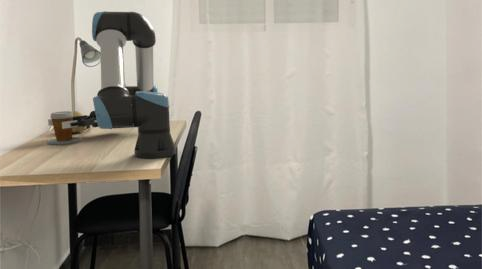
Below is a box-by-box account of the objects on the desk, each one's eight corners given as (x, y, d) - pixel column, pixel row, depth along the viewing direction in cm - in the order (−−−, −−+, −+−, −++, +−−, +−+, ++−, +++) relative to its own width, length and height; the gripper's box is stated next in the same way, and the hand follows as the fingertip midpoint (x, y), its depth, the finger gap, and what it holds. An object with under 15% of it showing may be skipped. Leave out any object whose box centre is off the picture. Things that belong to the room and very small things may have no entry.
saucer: (68, 145, 195) (68, 143, 195) (39, 144, 199) (39, 142, 198) (87, 139, 208) (87, 137, 208) (60, 138, 212) (60, 136, 212)
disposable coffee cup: (79, 139, 204) (77, 112, 202) (58, 143, 197) (56, 114, 195) (69, 137, 210) (67, 110, 208) (48, 140, 203) (45, 113, 201)
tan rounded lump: (84, 129, 235) (82, 108, 233) (90, 133, 225) (89, 111, 223) (63, 132, 230) (62, 110, 228) (69, 135, 220) (67, 112, 218)
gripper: (115, 129, 207) (69, 135, 192) (88, 123, 224) (43, 129, 209) (114, 112, 205) (67, 117, 190) (87, 108, 223) (42, 113, 208)
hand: (55, 123), depth 200 cm, fingers open, 13 cm apart
